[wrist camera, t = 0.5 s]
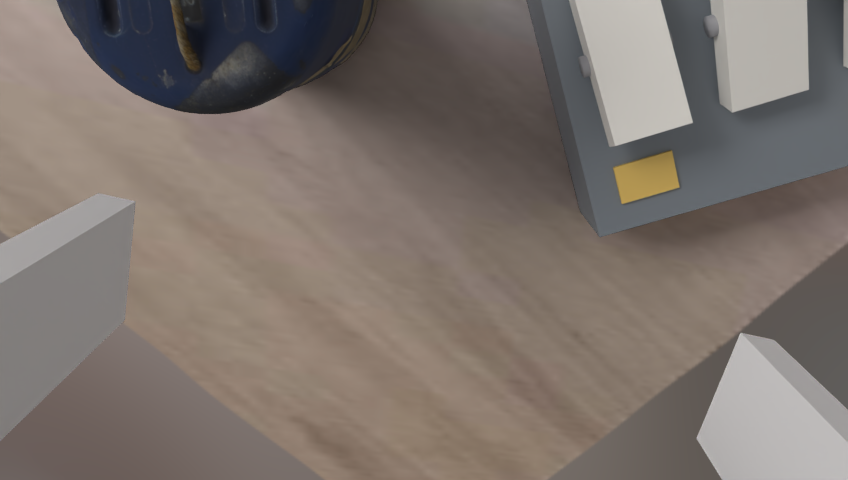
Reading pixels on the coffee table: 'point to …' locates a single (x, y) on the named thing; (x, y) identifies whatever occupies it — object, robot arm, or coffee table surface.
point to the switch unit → (695, 123)
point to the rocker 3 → (845, 35)
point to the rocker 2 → (758, 50)
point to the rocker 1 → (631, 67)
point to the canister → (217, 46)
